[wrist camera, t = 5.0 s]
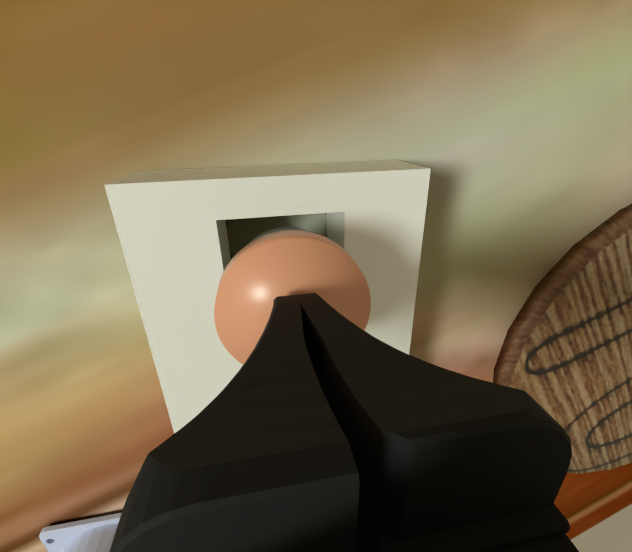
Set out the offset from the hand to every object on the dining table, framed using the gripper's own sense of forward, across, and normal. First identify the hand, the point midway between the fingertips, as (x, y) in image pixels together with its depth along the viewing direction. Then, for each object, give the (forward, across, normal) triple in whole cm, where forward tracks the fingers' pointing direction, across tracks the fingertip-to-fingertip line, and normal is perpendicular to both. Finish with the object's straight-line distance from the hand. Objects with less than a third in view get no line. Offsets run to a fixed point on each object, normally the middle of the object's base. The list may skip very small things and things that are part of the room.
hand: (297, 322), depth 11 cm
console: (+7, 0, +6) cm, 9 cm away
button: (+4, 0, 0) cm, 4 cm away
